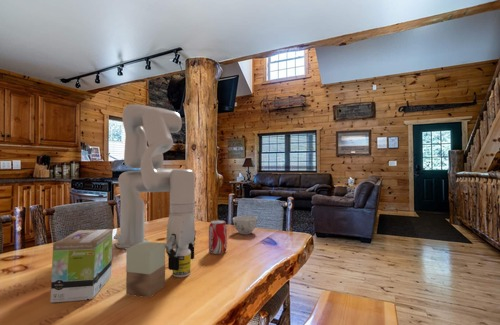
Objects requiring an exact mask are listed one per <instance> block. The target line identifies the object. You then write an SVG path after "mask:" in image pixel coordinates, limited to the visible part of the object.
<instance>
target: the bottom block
mask: <svg viewBox="0 0 500 325" xmlns="http://www.w3.org/2000/svg"><path fill="white" fill-rule="evenodd" d="M125 273H126V277H125V278H126V283H125V284H126V286H125V288H126V290H125V292H126V294H129V295H128V296H133V295H136V296H135V297H140V296H143V297H142V298H147V297H149V298H151V297H153V296H154V295H155V294H157V293H158V292H159V291H161V290H162V289H163V288H164V287H166V286H165V285H166V264H165V265H164V266H162V267H161V268H159V269H157V270H156V271H154V272H153V273H151V274H142V273H133V272H126V271H125ZM156 292H157V293H156ZM126 294H125V295H126ZM152 295H153V296H152ZM149 298H148V299H149Z"/></svg>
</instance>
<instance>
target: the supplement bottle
mask: <svg viewBox="0 0 500 325" xmlns="http://www.w3.org/2000/svg"><path fill="white" fill-rule="evenodd" d="M175 246H178V245H175ZM188 247H189V244H188V245H186V246H184V247H183V248H180V250H179V253H178V256H179V270H172V275H173V276H174V277H175V278H184V277H188V276H190V274H191V261H192V259H191V251H190V249H188ZM173 250H174V251H176V249H173Z"/></svg>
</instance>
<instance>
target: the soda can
mask: <svg viewBox="0 0 500 325" xmlns="http://www.w3.org/2000/svg"><path fill="white" fill-rule="evenodd" d="M227 237H228V226H227V224H226V221H225V220H223V219H222V220H221V219H216V220H215V219H214V220H211V221H210V224H209V226H208V251H209V252H210V253H211V254H213V255H222V254H224V253H225V252H226V251H227V248H228V238H227Z"/></svg>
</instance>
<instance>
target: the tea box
mask: <svg viewBox="0 0 500 325" xmlns="http://www.w3.org/2000/svg"><path fill="white" fill-rule="evenodd" d="M112 255H113V229H109V228H107V229H105V228H104V229H80V230H79V229H78V230H76V231H74V232H72V233H70V234H69V235H67V236H65V237H63V238H60V239H59V240H57V241H55V242H53V244H52V261H51V285H50V286H51V288H50V300H49V301H50V302H49V303H66V302H67V303H68V302H78V301H87V299H89V300H93V299H94V298H95V297H96V295H97V294H98V293H99V292H100V290H102V288H103V286H104V285H105V284H106V283H107V281H109V279H110V278H111V276H112V265H113V264H112V260H113V256H112Z"/></svg>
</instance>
